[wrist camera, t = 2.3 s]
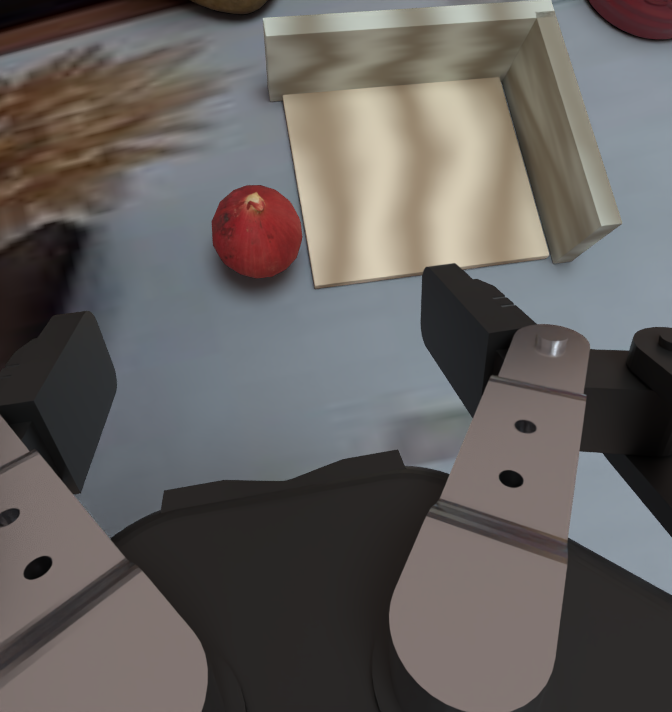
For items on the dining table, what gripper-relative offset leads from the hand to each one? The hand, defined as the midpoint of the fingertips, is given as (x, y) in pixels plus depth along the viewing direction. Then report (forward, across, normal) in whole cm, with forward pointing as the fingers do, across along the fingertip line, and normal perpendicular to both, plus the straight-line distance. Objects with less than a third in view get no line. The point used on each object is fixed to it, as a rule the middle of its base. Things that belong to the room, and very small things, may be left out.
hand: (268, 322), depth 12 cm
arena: (+27, -13, +3) cm, 30 cm away
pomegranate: (+24, 0, +7) cm, 25 cm away
